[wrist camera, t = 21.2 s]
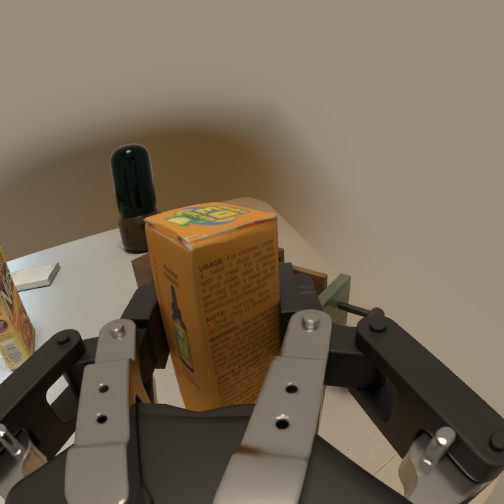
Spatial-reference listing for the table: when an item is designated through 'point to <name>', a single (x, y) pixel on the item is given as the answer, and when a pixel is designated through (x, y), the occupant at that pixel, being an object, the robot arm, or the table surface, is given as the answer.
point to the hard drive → (35, 276)
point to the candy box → (13, 322)
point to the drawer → (335, 296)
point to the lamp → (133, 193)
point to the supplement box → (217, 299)
